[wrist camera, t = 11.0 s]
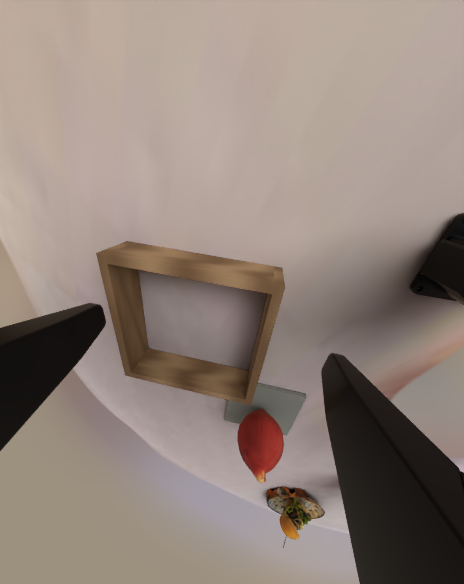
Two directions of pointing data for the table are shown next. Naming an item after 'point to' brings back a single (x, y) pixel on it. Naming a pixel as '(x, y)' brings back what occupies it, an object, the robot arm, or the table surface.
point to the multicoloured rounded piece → (293, 509)
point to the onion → (260, 443)
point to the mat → (269, 406)
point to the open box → (134, 256)
